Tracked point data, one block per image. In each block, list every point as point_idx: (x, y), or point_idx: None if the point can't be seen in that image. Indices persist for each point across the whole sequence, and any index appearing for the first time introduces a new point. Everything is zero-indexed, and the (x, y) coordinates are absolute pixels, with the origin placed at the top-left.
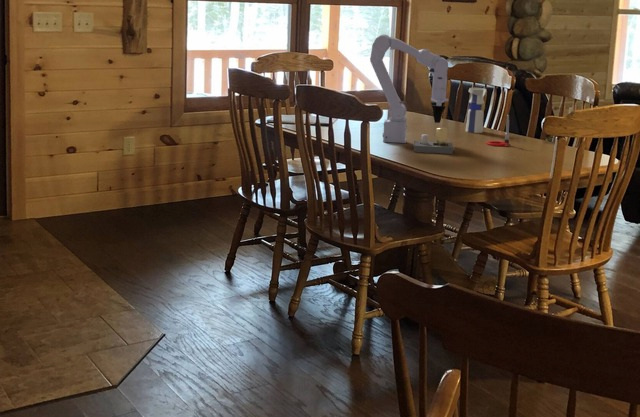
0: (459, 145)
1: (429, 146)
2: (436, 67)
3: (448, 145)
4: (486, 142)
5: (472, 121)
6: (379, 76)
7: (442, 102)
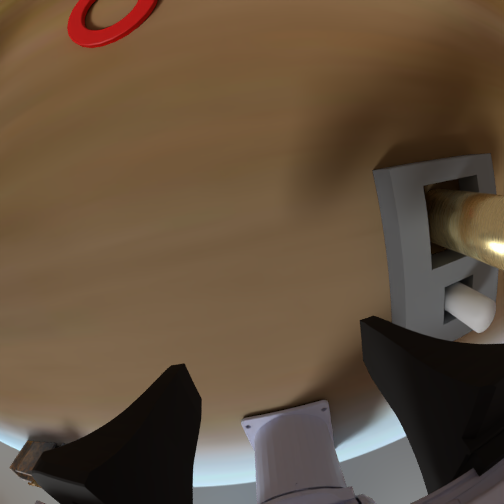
0: (235, 141)
1: None
2: None
3: (449, 179)
4: (113, 36)
5: None
6: None
7: (63, 494)
